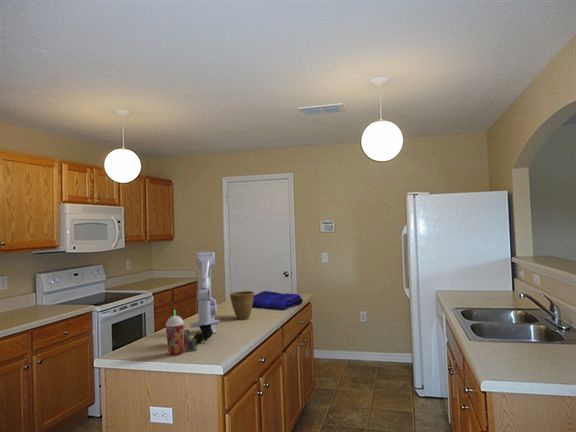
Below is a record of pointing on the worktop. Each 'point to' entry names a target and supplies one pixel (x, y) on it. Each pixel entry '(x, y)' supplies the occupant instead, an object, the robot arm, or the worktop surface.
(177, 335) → the smoothie
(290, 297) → the towel
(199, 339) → the bolt
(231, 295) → the plant pot
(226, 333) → the worktop surface
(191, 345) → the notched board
